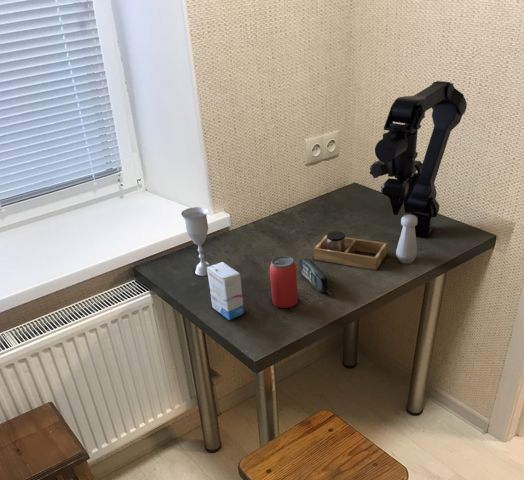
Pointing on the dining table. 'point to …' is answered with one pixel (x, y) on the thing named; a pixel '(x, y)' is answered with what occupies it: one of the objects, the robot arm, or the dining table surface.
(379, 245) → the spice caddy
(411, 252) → the salt shaker
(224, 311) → the ink box
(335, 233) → the cylinder
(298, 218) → the dining table surface
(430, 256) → the dining table surface
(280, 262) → the beer can
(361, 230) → the dining table surface
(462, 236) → the dining table surface
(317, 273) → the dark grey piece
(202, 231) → the chalice
